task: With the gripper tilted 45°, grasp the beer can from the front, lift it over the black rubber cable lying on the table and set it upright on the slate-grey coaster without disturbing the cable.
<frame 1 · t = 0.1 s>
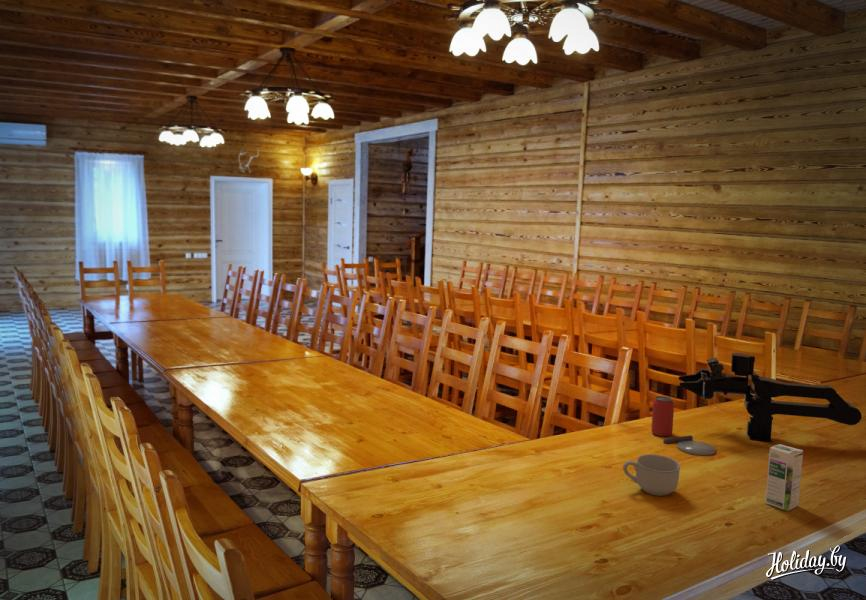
hand: (679, 381, 221), 17 cm above the table, tool horizontal, fingers open, 9 cm apart
teacup: (650, 491, 172), on the table
beer can: (661, 434, 218), on the table
syrup box: (781, 505, 164), on the table
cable: (678, 442, 211), on the table
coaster: (696, 449, 204), on the table
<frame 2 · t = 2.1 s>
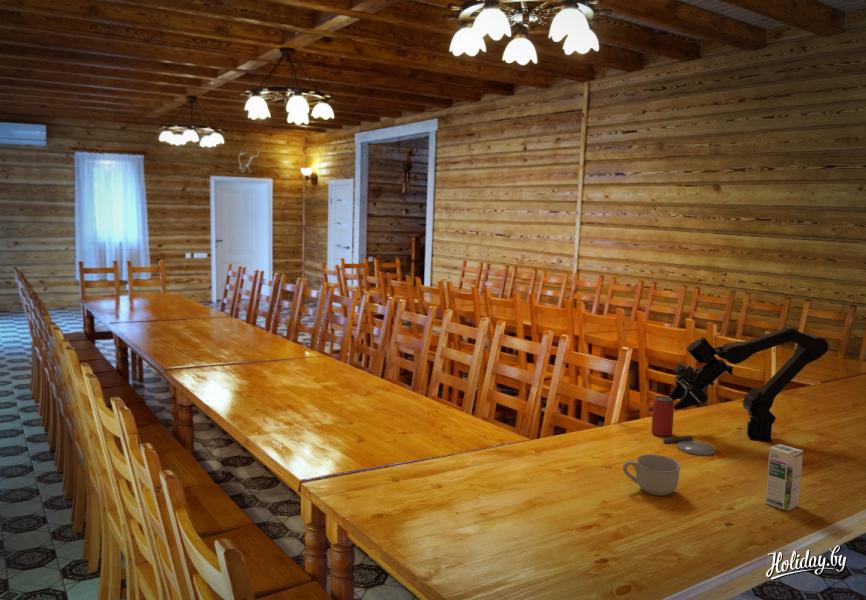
hand: (671, 405, 217), 10 cm above the table, tool tilted 45°, fingers open, 9 cm apart
nothing on the table moved.
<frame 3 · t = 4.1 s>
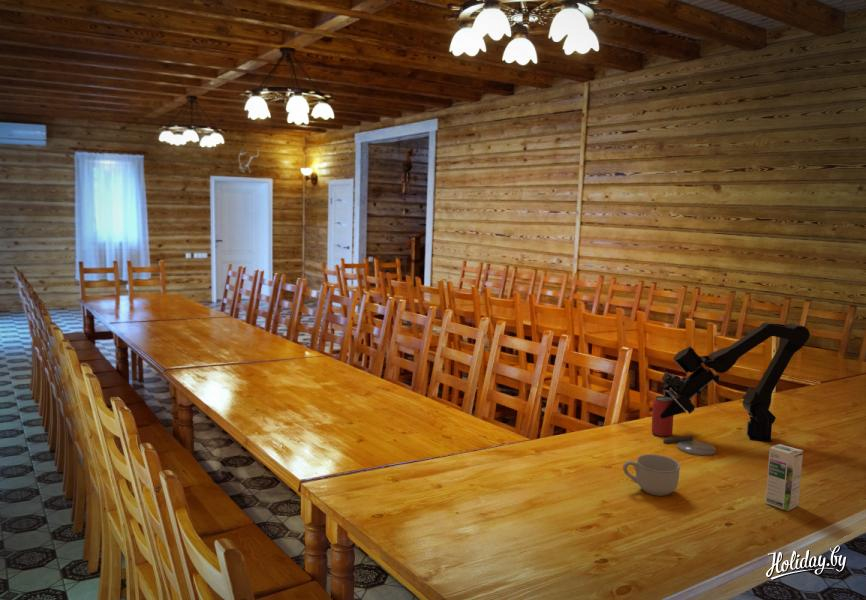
hand: (658, 414, 218), 7 cm above the table, tool tilted 45°, fingers closed on beer can, 7 cm apart
beer can: (661, 434, 218), on the table, touching gripper
everything else where it was.
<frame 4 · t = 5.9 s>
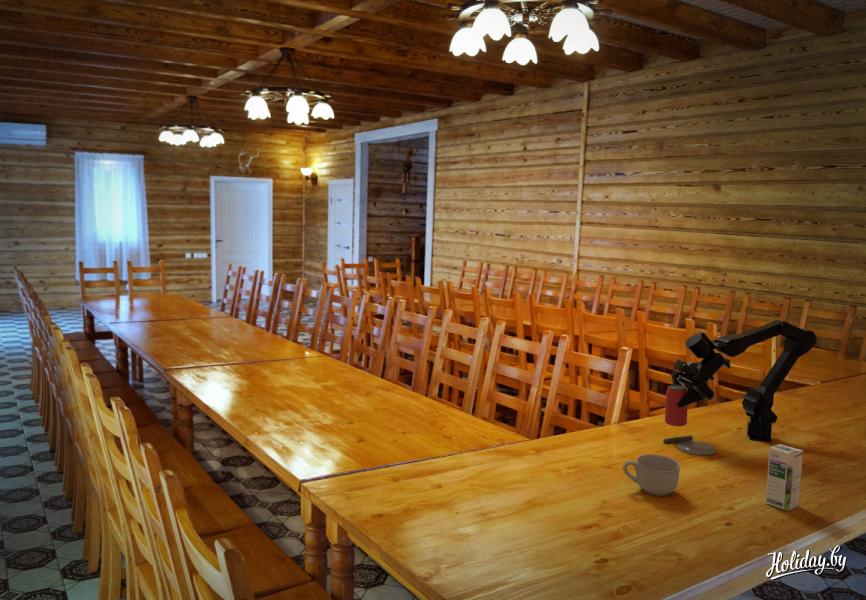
hand: (672, 403, 210), 12 cm above the table, tool tilted 45°, fingers closed on beer can, 7 cm apart
beer can: (675, 424, 211), point 5 cm above the table, touching gripper
everything else where it was.
when the fingers open (8 cm above the table, at t = 8.0 s): beer can stays where it is, resting on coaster.
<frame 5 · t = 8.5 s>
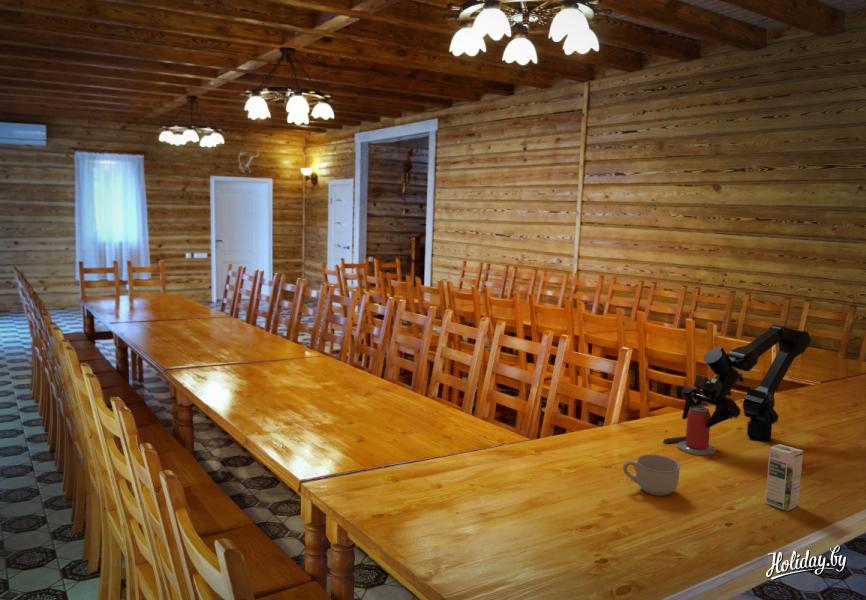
hand: (694, 422, 202), 9 cm above the table, tool tilted 45°, fingers open, 9 cm apart
beer can: (696, 447, 204), point 1 cm above the table, touching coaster
everything else where it was.
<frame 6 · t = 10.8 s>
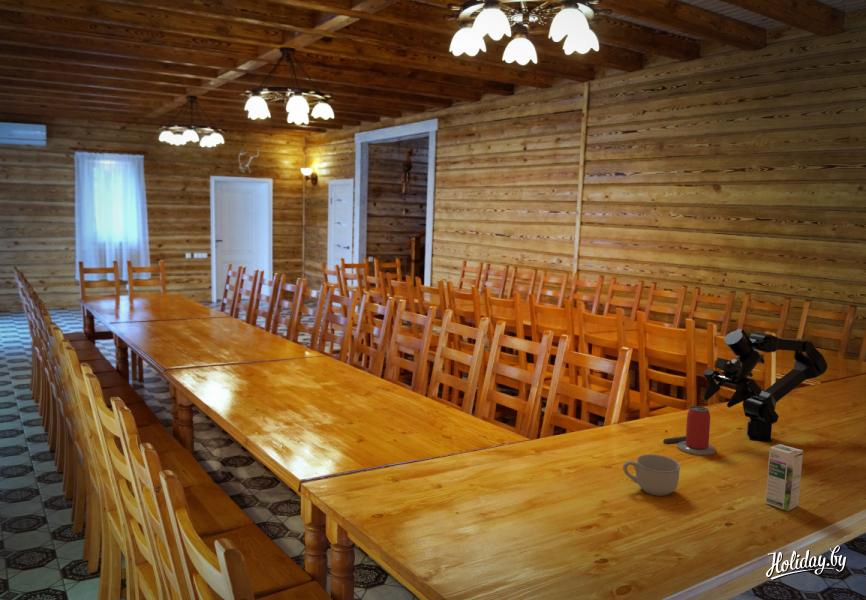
hand: (716, 403, 206), 14 cm above the table, tool tilted 45°, fingers open, 9 cm apart
nothing on the table moved.
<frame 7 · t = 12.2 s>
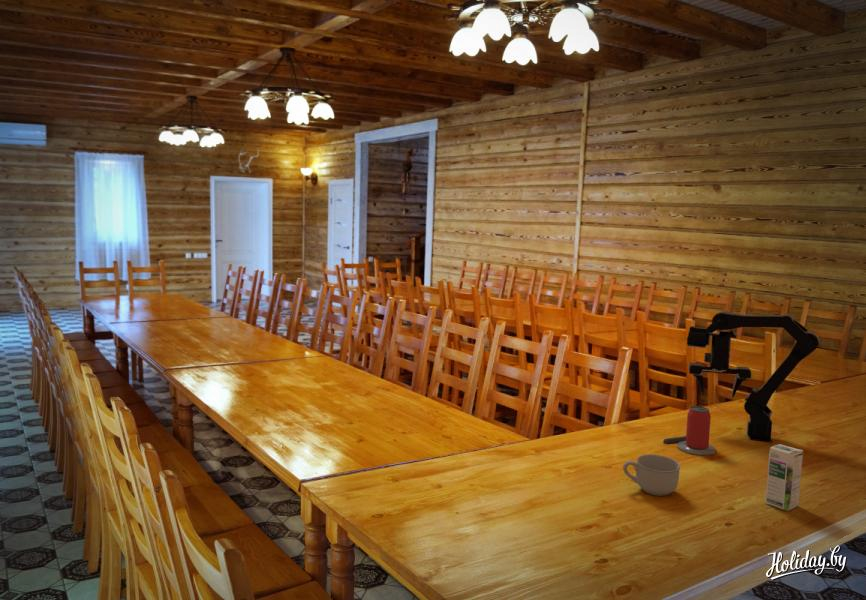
hand: (717, 395, 221), 12 cm above the table, tool pointing down, fingers open, 9 cm apart
nothing on the table moved.
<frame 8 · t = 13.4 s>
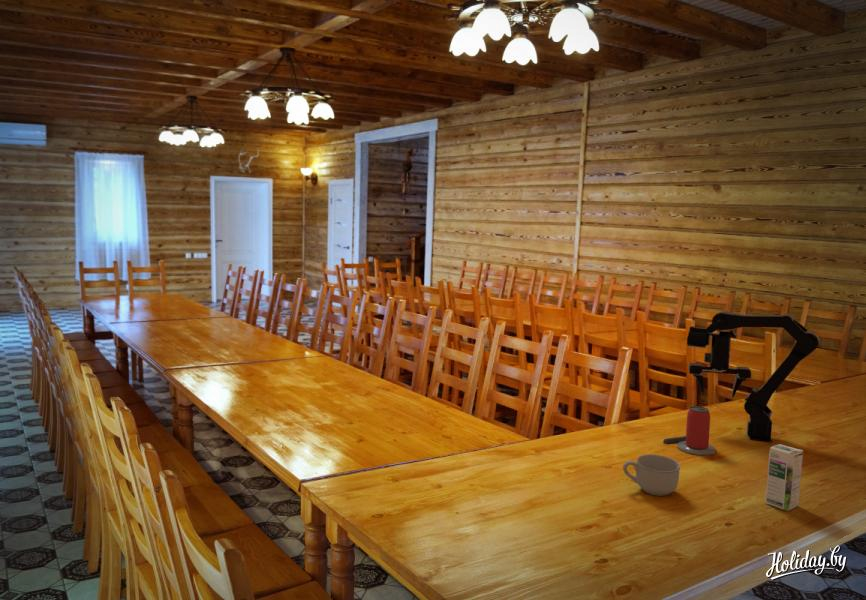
hand: (717, 395, 221), 12 cm above the table, tool pointing down, fingers open, 9 cm apart
nothing on the table moved.
at the end: beer can 0.1 cm off-centre on the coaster, point 0.6 cm above the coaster's base; beer can tilted 0°; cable moved 0.2 cm from its start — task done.
